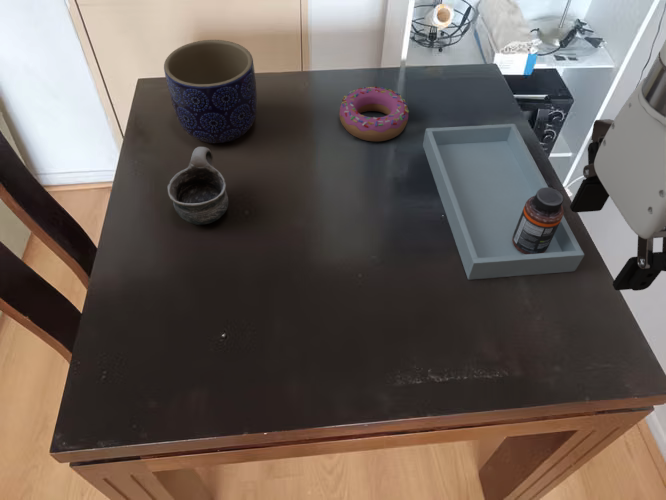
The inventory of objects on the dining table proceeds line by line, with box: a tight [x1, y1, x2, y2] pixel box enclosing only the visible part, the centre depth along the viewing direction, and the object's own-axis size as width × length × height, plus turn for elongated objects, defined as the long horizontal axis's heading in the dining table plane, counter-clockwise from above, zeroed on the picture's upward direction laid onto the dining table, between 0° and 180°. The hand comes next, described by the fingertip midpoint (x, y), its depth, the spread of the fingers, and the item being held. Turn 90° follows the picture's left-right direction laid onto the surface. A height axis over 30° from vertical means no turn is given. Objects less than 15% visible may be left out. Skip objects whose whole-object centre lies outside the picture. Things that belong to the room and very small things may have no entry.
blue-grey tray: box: [422, 123, 585, 281], centre depth 96 cm, size 34×18×4 cm, turn 6°
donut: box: [338, 86, 410, 142], centre depth 111 cm, size 14×14×5 cm
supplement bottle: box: [512, 186, 565, 254], centre depth 86 cm, size 6×6×11 cm
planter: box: [163, 39, 258, 144], centre depth 105 cm, size 16×17×15 cm
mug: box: [167, 146, 229, 226], centre depth 92 cm, size 10×12×10 cm
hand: (605, 245), depth 51 cm, fingers open, 9 cm apart
